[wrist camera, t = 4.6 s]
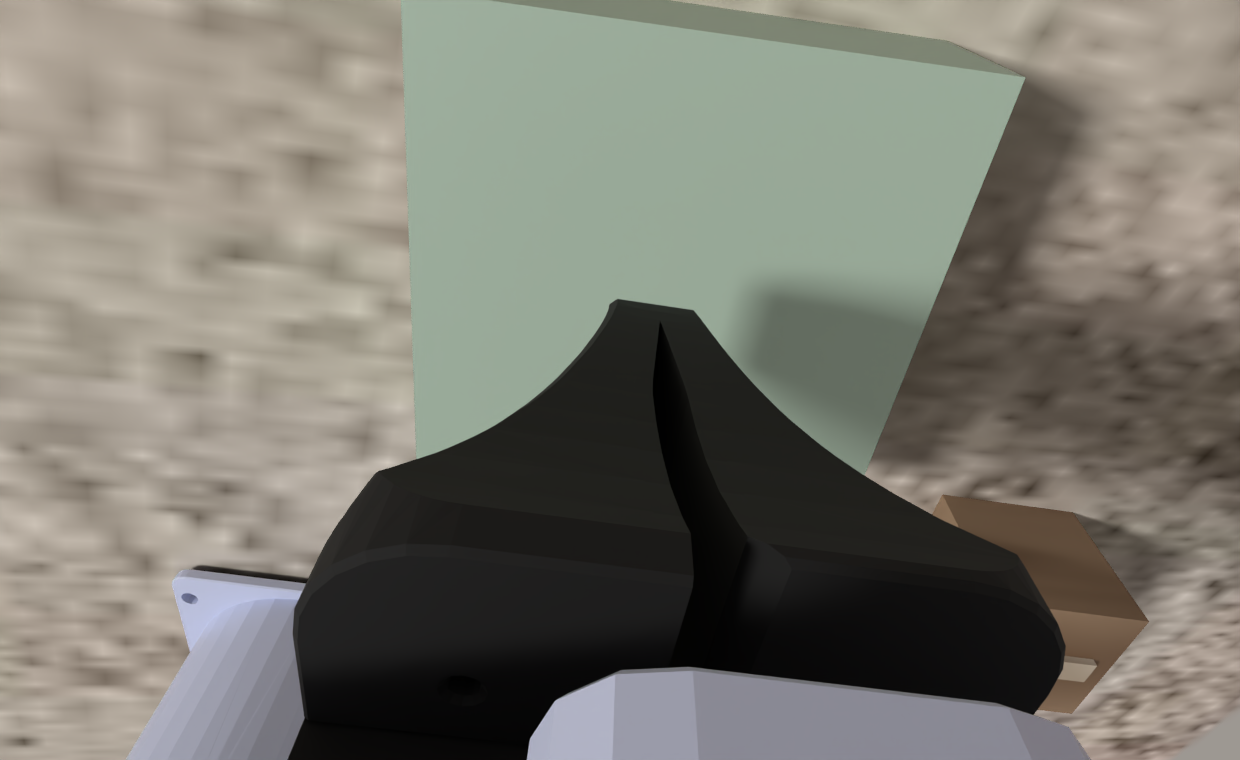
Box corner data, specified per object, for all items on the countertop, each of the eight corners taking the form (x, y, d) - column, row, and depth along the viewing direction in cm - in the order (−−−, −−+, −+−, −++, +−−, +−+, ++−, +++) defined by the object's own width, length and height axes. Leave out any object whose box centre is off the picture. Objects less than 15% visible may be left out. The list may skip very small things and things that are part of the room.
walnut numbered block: (1011, 599, 24) (1075, 720, 20) (893, 584, 24) (937, 703, 20) (1071, 510, 22) (1153, 628, 18) (941, 492, 22) (999, 609, 18)
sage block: (811, 423, 21) (844, 524, 17) (454, 381, 20) (416, 477, 17) (941, 37, 15) (1025, 77, 12) (456, -33, 15) (400, -12, 11)
